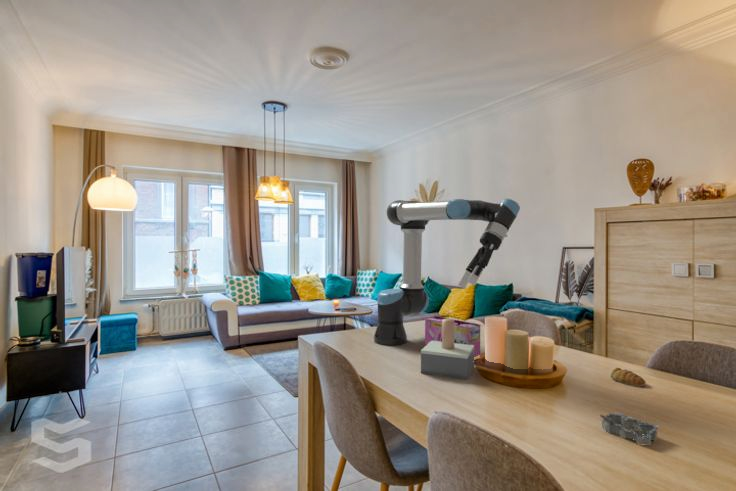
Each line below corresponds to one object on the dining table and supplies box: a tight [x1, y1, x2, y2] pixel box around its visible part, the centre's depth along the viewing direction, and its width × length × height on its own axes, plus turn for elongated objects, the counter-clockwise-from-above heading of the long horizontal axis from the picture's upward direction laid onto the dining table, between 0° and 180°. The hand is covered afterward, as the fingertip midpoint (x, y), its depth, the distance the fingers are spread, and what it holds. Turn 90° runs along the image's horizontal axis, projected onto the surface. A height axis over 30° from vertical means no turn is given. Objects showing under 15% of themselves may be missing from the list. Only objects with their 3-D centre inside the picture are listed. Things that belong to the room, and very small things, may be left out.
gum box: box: [424, 315, 482, 357], centre depth 159 cm, size 24×8×14 cm, turn 40°
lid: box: [420, 318, 474, 359], centre depth 139 cm, size 14×16×11 cm
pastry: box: [610, 367, 647, 388], centre depth 127 cm, size 9×7×4 cm
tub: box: [420, 349, 475, 380], centre depth 140 cm, size 14×16×7 cm
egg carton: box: [600, 411, 659, 446], centre depth 94 cm, size 11×8×4 cm
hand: (465, 285), depth 143 cm, fingers open, 13 cm apart
